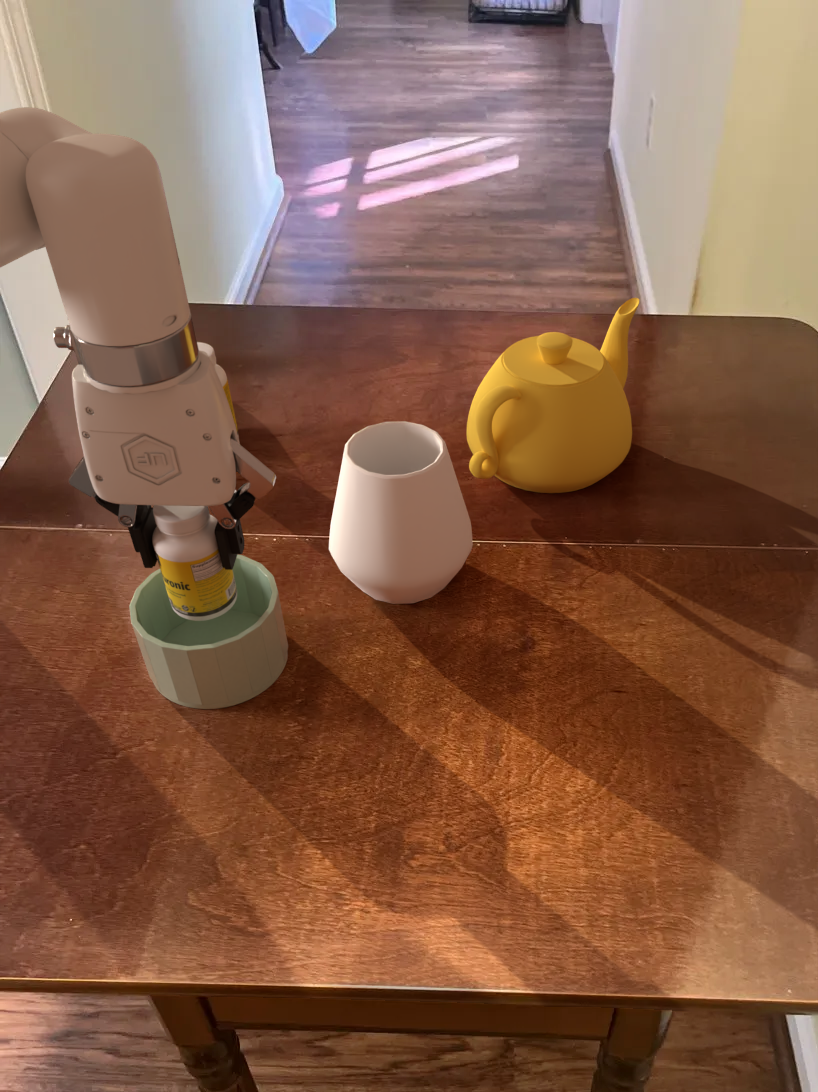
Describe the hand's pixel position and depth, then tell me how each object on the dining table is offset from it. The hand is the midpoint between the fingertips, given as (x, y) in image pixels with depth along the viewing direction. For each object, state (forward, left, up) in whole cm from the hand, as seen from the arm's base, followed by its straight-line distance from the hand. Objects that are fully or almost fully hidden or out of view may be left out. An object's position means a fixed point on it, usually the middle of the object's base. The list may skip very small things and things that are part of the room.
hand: (192, 555), depth 77 cm
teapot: (+30, +33, -12) cm, 46 cm away
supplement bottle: (0, 0, -5) cm, 5 cm away
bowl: (0, 0, -12) cm, 12 cm away
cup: (+15, +12, -12) cm, 22 cm away
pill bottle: (-8, +33, -12) cm, 36 cm away
